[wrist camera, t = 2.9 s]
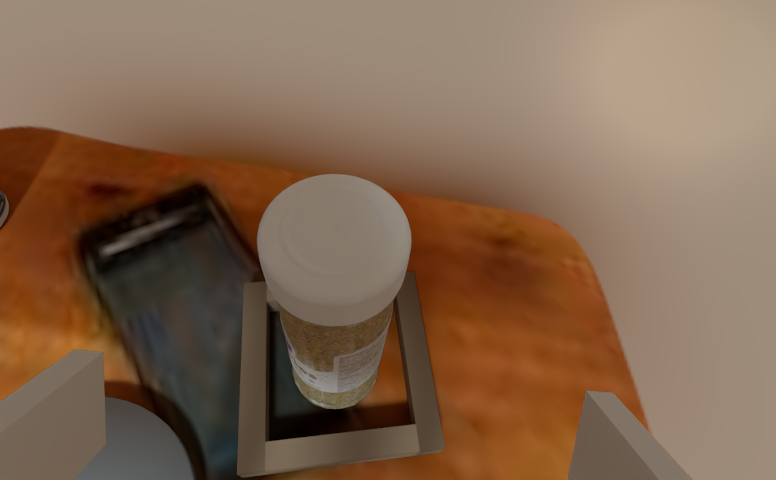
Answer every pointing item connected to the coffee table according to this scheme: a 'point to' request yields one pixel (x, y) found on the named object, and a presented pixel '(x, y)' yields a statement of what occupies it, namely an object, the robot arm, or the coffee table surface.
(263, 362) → the gray square frame
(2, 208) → the supplement bottle
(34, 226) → the coffee table surface
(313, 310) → the sprinkles bottle
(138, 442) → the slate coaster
